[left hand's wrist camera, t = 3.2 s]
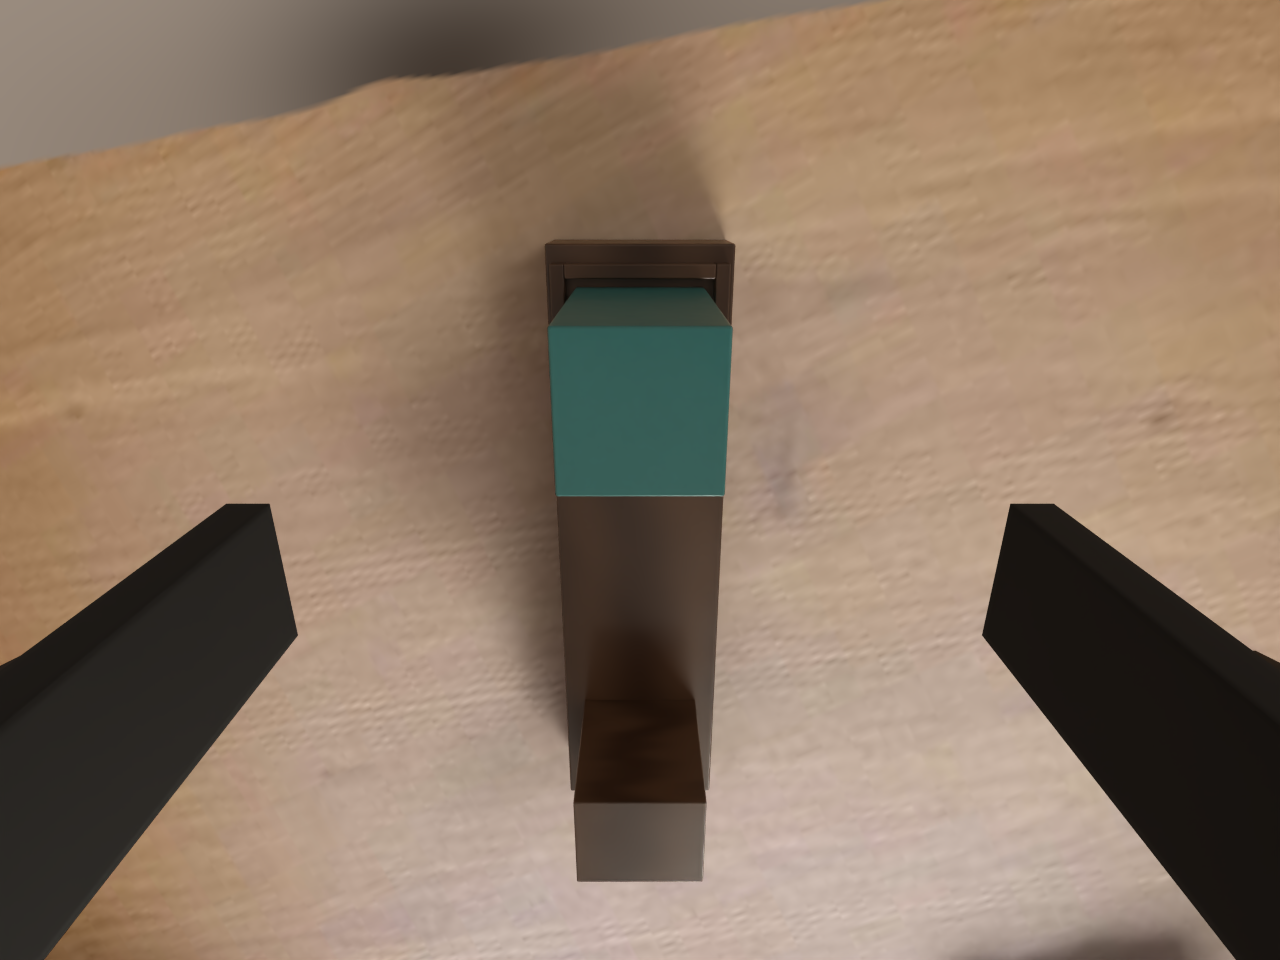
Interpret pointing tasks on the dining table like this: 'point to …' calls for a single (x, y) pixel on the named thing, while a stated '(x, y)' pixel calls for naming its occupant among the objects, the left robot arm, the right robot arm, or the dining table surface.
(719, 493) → the cap block
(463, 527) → the dining table surface
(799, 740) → the dining table surface
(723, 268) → the holder
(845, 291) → the dining table surface
